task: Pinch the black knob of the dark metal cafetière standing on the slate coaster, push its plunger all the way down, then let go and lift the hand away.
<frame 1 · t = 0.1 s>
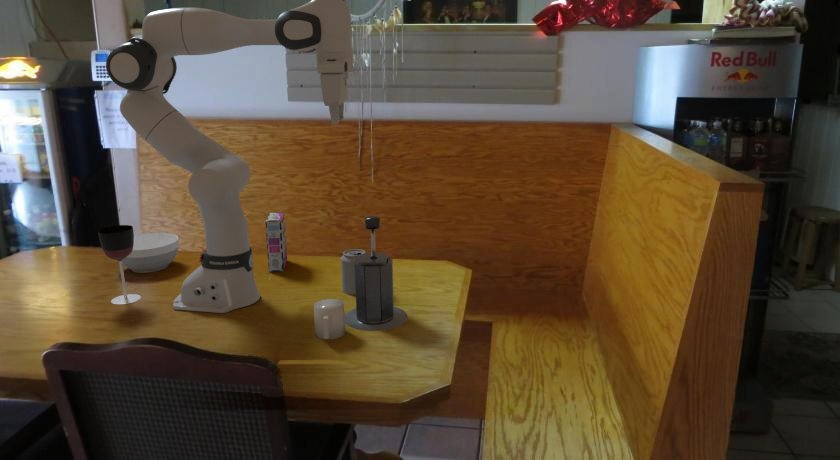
hand: (337, 121, 155), 48 cm above the table, fingers open, 8 cm apart
wineglass: (126, 299, 170), on the table
carafe: (375, 317, 154), resting on coaster
plunger: (373, 243, 149), point 20 cm above the table, slide at 0.0 cm
white rounded cylinder: (330, 336, 146), on the table
can: (355, 293, 173), on the table
bowl: (150, 267, 196), on the table
coaster: (375, 320, 154), on the table
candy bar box: (278, 266, 195), on the table
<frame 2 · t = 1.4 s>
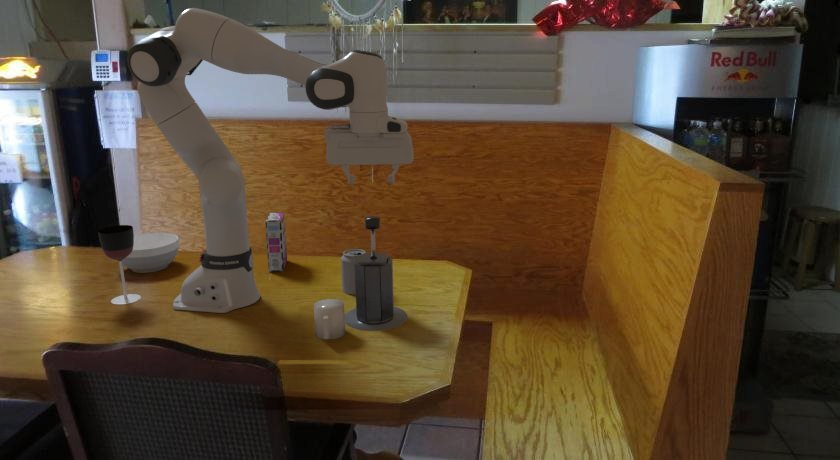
hand: (371, 183, 145), 35 cm above the table, fingers open, 8 cm apart
nothing on the table moved.
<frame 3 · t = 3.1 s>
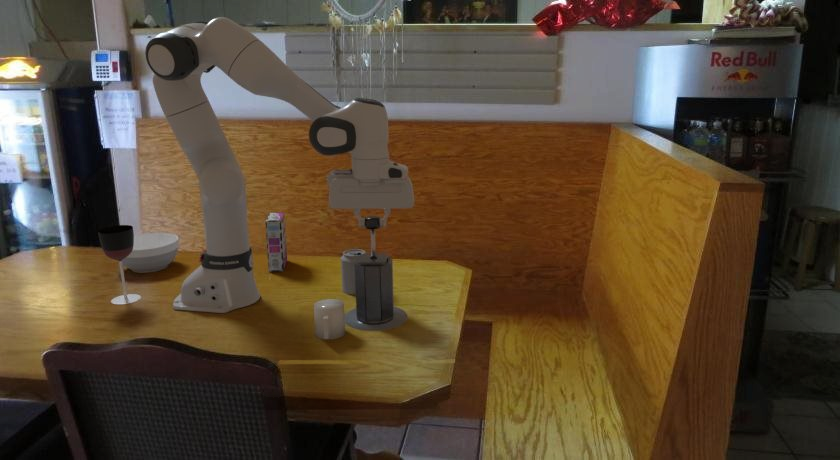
hand: (372, 226, 148), 24 cm above the table, fingers closed on plunger, 4 cm apart
plunger: (373, 243, 149), point 20 cm above the table, slide at 0.0 cm, touching gripper
everything else where it was.
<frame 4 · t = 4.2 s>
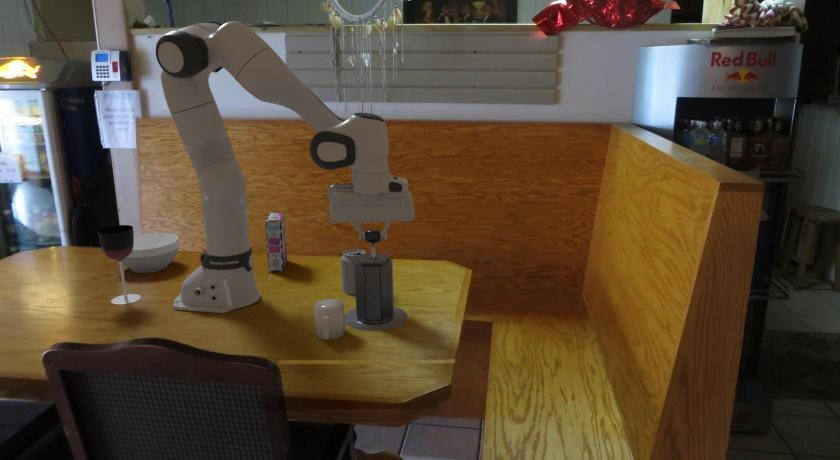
hand: (373, 239, 149), 21 cm above the table, fingers closed on plunger, 4 cm apart
plunger: (373, 256, 150), point 17 cm above the table, slide at 3.3 cm, touching gripper
everything else where it was.
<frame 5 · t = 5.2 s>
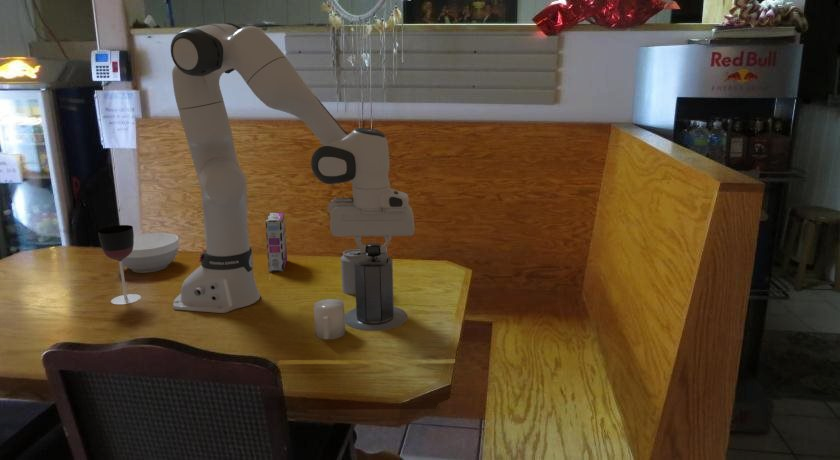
hand: (373, 253, 150), 18 cm above the table, fingers closed on plunger, 4 cm apart
plunger: (373, 269, 151), point 13 cm above the table, slide at 6.8 cm, touching gripper
everything else where it was.
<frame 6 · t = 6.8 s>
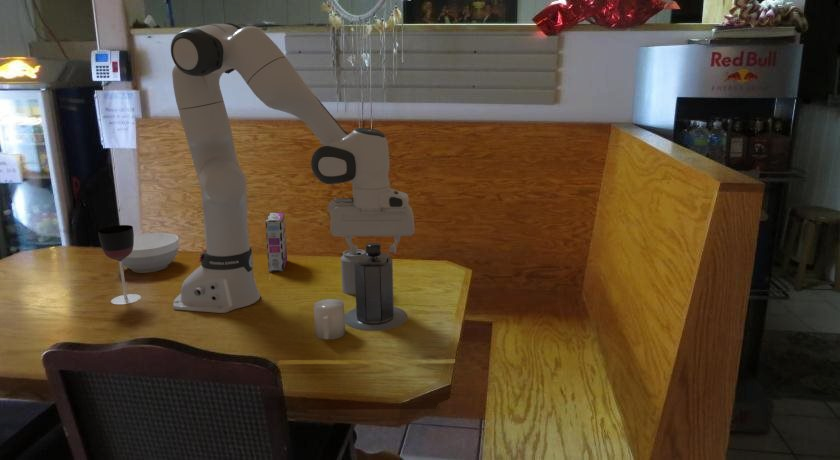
hand: (373, 253, 150), 18 cm above the table, fingers open, 8 cm apart
plunger: (373, 269, 151), point 13 cm above the table, slide at 6.8 cm
everything else where it was.
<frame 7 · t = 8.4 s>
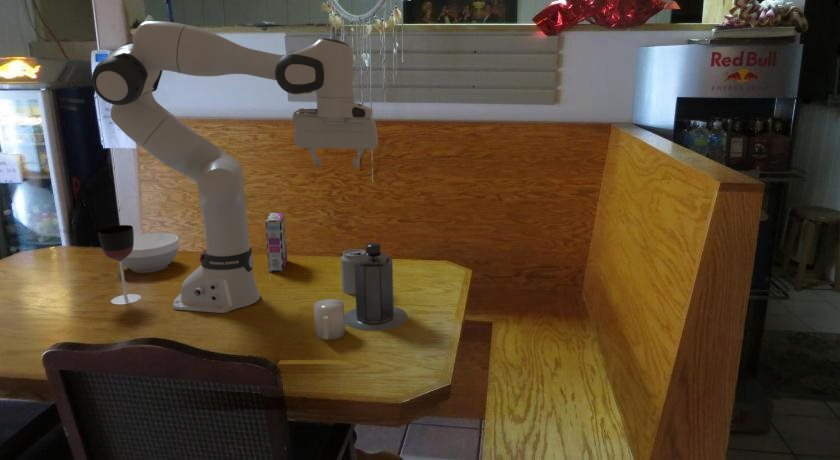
hand: (336, 166, 151), 38 cm above the table, fingers open, 8 cm apart
nothing on the table moved.
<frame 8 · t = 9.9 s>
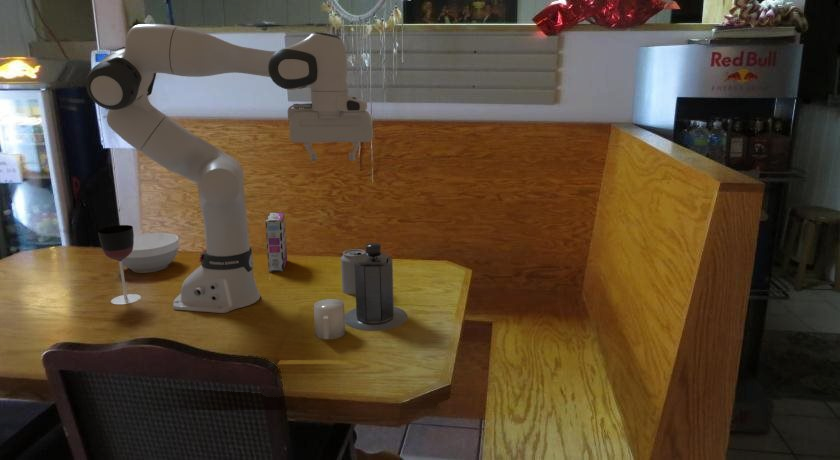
hand: (333, 160, 152), 39 cm above the table, fingers open, 8 cm apart
nothing on the table moved.
at the end: plunger slide at 6.8 cm; the gripper is holding nothing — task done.
